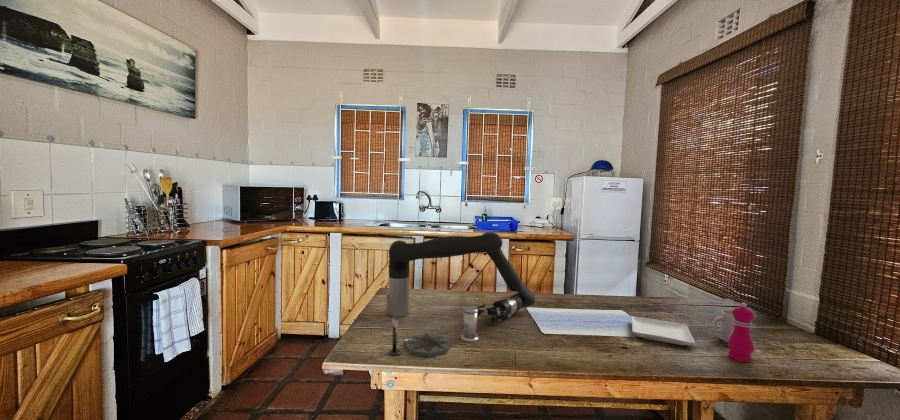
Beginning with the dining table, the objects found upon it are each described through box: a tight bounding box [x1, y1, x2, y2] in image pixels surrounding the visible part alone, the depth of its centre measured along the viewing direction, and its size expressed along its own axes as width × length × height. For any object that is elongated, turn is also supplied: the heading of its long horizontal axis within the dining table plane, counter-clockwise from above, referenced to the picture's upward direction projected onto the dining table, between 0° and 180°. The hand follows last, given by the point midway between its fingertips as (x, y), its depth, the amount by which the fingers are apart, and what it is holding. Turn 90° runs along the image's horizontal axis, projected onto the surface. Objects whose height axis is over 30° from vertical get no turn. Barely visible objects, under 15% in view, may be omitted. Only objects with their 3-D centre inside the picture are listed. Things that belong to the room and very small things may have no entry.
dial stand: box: [388, 317, 411, 357], centre depth 128 cm, size 8×4×12 cm, turn 119°
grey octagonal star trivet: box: [403, 332, 452, 359], centre depth 133 cm, size 16×16×2 cm
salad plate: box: [630, 315, 696, 346], centre depth 150 cm, size 21×21×3 cm
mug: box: [712, 309, 735, 343], centre depth 145 cm, size 12×8×11 cm
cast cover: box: [460, 305, 479, 344], centre depth 141 cm, size 7×7×12 cm
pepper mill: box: [727, 302, 755, 363], centre depth 130 cm, size 7×7×20 cm
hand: (482, 316), depth 147 cm, fingers open, 8 cm apart
